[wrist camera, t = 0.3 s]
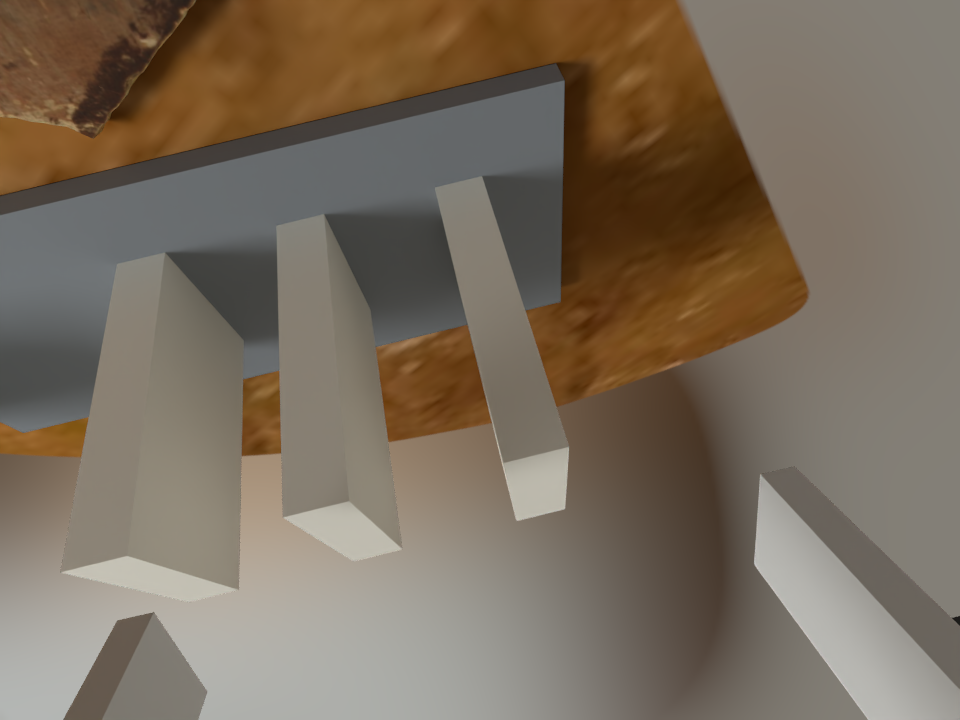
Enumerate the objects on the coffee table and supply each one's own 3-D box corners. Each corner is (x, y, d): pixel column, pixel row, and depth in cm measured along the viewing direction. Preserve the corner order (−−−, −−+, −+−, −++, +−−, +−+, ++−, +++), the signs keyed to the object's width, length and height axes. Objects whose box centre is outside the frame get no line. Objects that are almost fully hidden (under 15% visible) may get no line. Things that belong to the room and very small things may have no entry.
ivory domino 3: (434, 187, 20) (503, 462, 15) (481, 175, 20) (569, 446, 15) (458, 288, 25) (516, 521, 20) (496, 278, 25) (565, 508, 20)
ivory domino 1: (116, 263, 20) (60, 572, 14) (164, 252, 20) (127, 556, 14) (205, 349, 25) (189, 602, 20) (243, 340, 25) (238, 590, 20)
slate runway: (-273, 261, 18) (-289, 284, 17) (555, 63, 18) (564, 79, 18) (27, 415, 28) (23, 432, 28) (555, 286, 29) (560, 301, 28)
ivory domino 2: (276, 225, 20) (283, 517, 14) (324, 214, 20) (349, 500, 15) (332, 318, 25) (353, 561, 20) (370, 309, 25) (402, 549, 20)
